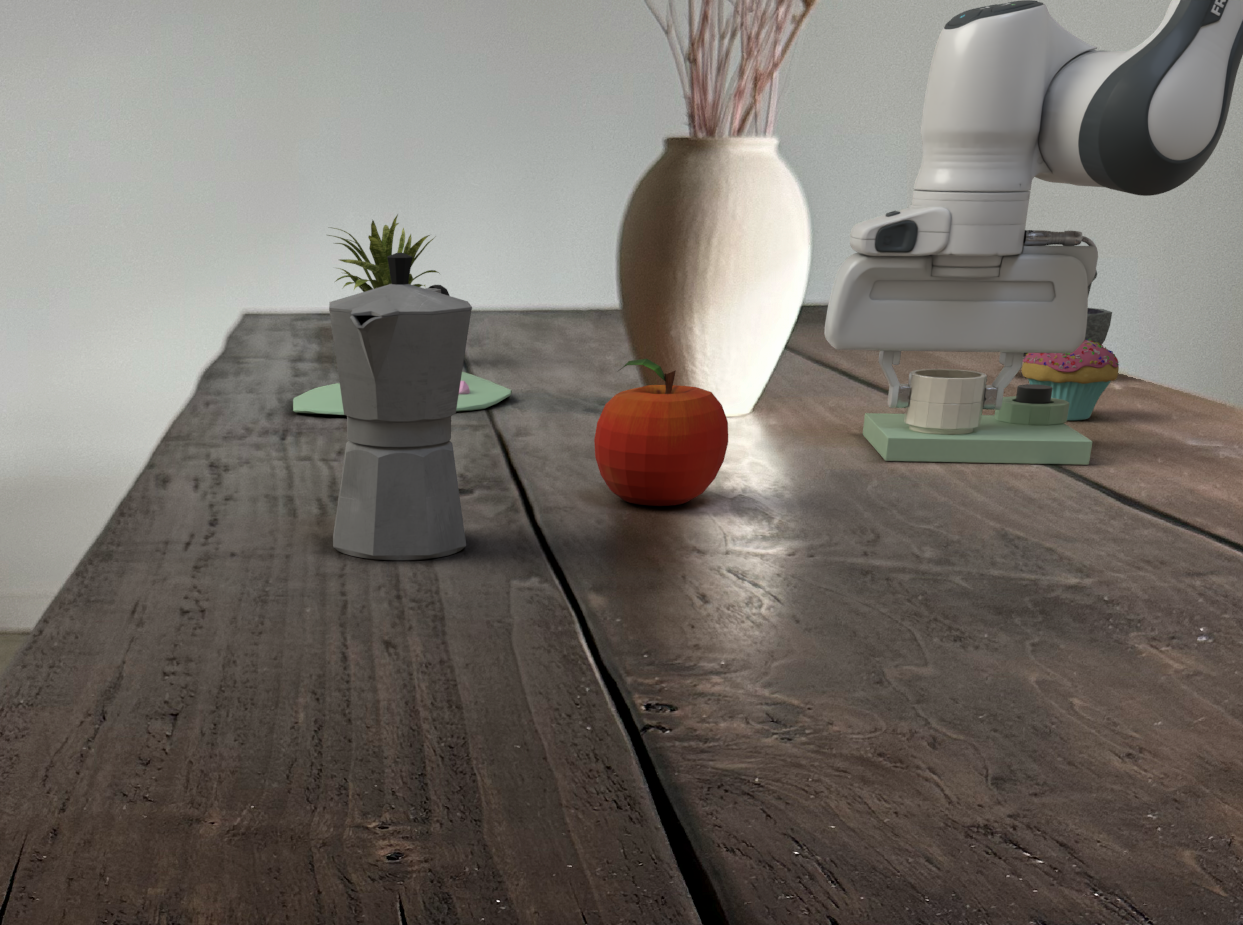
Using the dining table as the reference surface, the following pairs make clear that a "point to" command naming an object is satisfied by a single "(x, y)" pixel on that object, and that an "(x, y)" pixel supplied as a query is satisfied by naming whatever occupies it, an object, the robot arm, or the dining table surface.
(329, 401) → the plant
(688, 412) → the fruit
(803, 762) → the dining table surface
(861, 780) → the dining table surface
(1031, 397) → the button
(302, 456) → the dining table surface
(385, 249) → the house plant
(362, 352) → the coffeepot
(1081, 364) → the cupcake
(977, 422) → the bowl
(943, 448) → the scale
